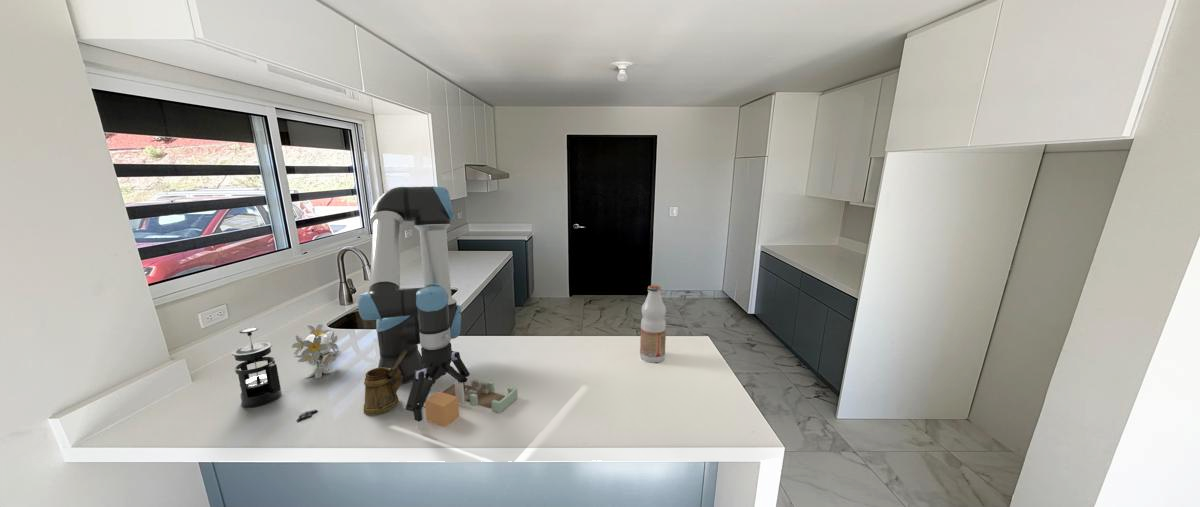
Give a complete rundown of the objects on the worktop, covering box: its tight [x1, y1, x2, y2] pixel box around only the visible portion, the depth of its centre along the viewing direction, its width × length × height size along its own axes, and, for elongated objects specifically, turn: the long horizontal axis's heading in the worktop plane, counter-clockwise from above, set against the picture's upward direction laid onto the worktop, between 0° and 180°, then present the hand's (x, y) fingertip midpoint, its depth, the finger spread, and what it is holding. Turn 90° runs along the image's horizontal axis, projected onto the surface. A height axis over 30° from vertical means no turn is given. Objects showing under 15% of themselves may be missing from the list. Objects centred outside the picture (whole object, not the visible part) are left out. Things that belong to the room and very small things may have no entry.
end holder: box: [469, 380, 519, 414], centre depth 114 cm, size 11×9×3 cm
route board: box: [442, 378, 516, 413], centre depth 116 cm, size 24×7×4 cm, turn 67°
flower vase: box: [291, 324, 340, 379], centre depth 138 cm, size 13×18×25 cm
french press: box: [231, 327, 283, 409], centre depth 114 cm, size 12×9×23 cm
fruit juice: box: [639, 284, 667, 364], centre depth 141 cm, size 9×9×28 cm
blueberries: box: [295, 409, 319, 423], centre depth 108 cm, size 7×8×2 cm
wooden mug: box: [363, 349, 407, 416], centre depth 111 cm, size 9×14×18 cm, turn 94°
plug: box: [418, 391, 460, 428], centre depth 107 cm, size 14×5×7 cm, turn 67°
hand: (442, 415), depth 105 cm, fingers open, 13 cm apart
